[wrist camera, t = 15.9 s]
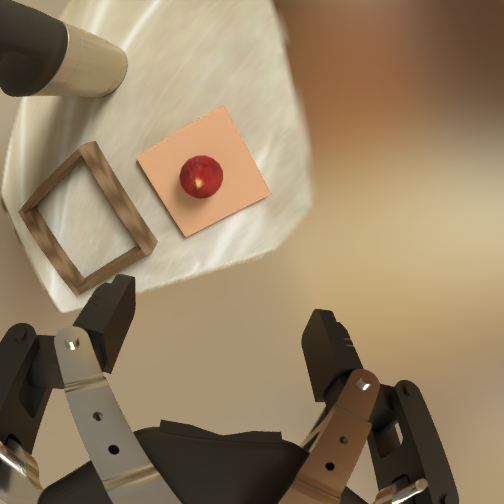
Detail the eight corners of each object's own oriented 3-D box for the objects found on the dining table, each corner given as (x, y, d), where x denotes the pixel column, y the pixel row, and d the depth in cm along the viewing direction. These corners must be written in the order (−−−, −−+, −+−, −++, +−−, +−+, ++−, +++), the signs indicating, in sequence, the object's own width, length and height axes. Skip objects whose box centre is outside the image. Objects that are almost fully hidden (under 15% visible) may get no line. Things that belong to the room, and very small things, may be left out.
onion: (177, 174, 38) (163, 186, 31) (202, 144, 37) (193, 149, 30) (207, 198, 40) (200, 216, 33) (232, 170, 39) (231, 180, 32)
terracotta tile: (139, 156, 38) (136, 157, 37) (224, 106, 36) (224, 105, 34) (187, 233, 44) (185, 237, 43) (270, 191, 42) (271, 194, 41)
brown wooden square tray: (30, 204, 40) (18, 211, 36) (95, 141, 36) (83, 143, 33) (84, 285, 48) (76, 296, 45) (157, 241, 45) (151, 252, 41)
